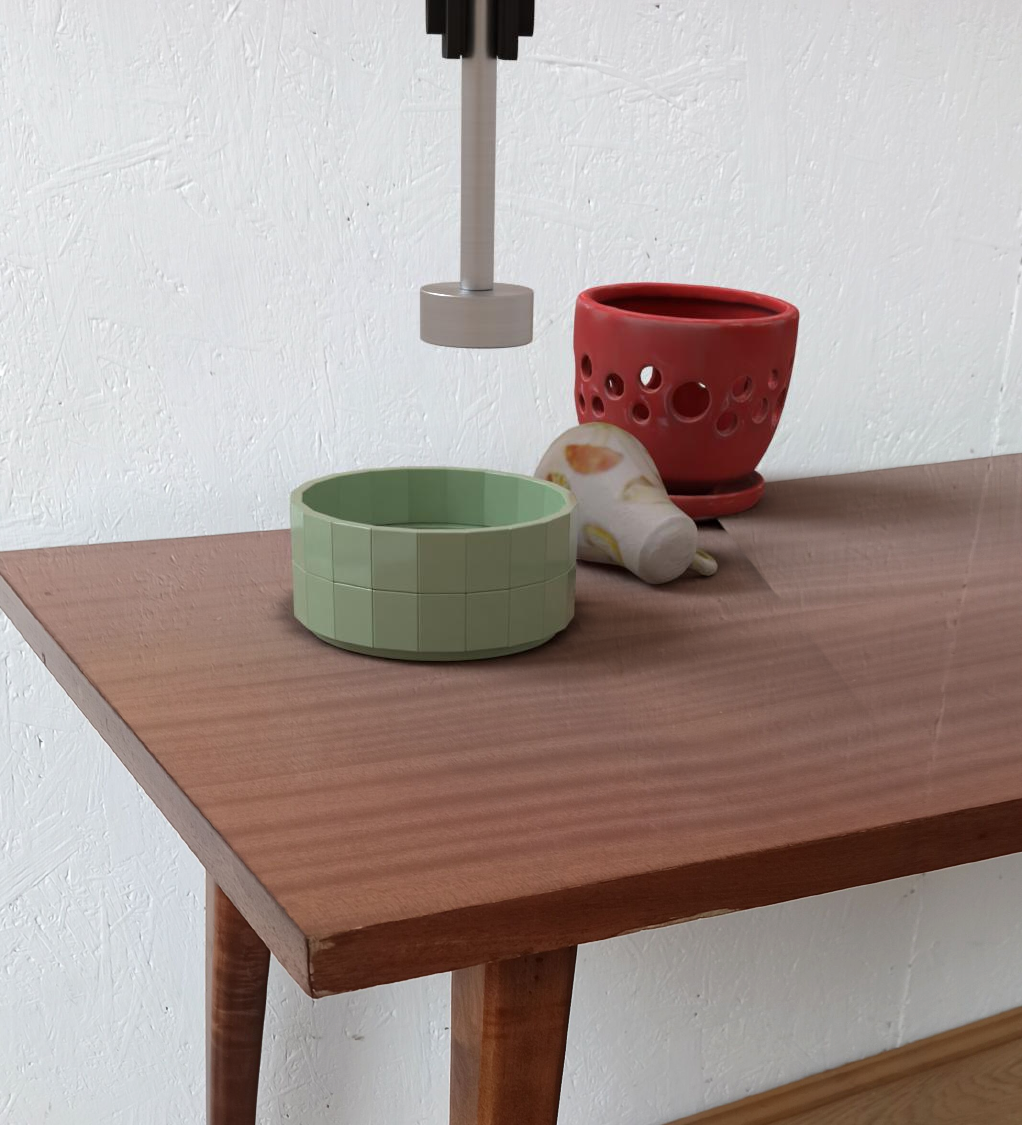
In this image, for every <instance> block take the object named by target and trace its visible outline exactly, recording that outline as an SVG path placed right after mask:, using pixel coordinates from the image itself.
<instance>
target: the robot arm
mask: <svg viewBox="0 0 1022 1125" xmlns="http://www.w3.org/2000/svg"><path fill="white" fill-rule="evenodd" d="M424 2H425V12H424V13H425V34H426V35H440V36H441V58H442V59H446V60H461V57H462V56H465V46H466V0H424ZM535 3H536V0H498V1H497V60H500V61H516V62H517V61H518V58H519V37H523V38H525V37H526V38H533V36H534V31H535V14H536V13H535V11H536V10H535V9H536V4H535Z"/></svg>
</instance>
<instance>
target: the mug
mask: <svg viewBox="0 0 1022 1125" xmlns="http://www.w3.org/2000/svg"><path fill="white" fill-rule="evenodd" d="M532 477H535V478H539V479H542V480H546V481H550V482H553V483H556V484H558V485H560V486H562V487H563V488H565V489H567V490H569V491H571V492H573V493H574V495H575V497H576V499H577V501H578V503H579V510H578V534H577V558H576V559H577V560H581V561H584V562H585V561H586V562H590V563H599V564H606V565H614V566H620V567H623V568H624V569H627V570H628V571H630V572H631V573H633V574H634V575H636V576H637V577H638V578H640V579H641V580H643V581H644V582H645V583H647V584H650V585H662V584H666V583H668V582H671V581H673V580H675V579H677V578H679V577H680V576H681V575H682V574H683V573H684V572H685V571H686V570H687V569H688V568H689V570H693V571H695V572H697V573H698V574H699V575H702V576H713V575H715V574H716V572H717V570H718V563H717V561H716V560H715V558H714V557H712V556H711V555H709V554H708V553H707V552H705V551H703V550H701V549H700V548H698V545H699V532H698V529H697V525H696V522H694V521H693V520H692V519H691V518H690V517H689V516H688V515H686V514H685V513H684V512H683V511H681V510H680V509H679V508H678V507H677V506H676V505H675V504H674V503H673V502H672V501H671V500H670V498H669V497H668V494H667V492H666V490H665V487H664V485H663V482H662V480H661V477H660V475H659V472H658V470H657V468H656V466H655V464H654V462H653V460H652V458H651V456H650V454H649V453H648V451H647V450H646V449H645V447H644V446H643V445H642V444H641V443H640V442H639V441H638V440H637V439H636V438H635V437H634V436H633V435H631V434H630V433H628V432H627V431H625V430H623V429H621V428H619V427H617V426H614V425H611V424H607V423H602V422H591V423H586V424H581V425H579V424H577V425H575V426H572V427H569V428H568V429H566V430H565V431H564V432H562V433H561V434H560V435H558V436H557V437H556V438H555V439H554V440H553V441H552V442H551V443H550V444H549V446H548V448H547V449H546V451H545V453H544V454H543V455H542V457H541V459H540V460H539V462H538V465H537V466H536V468H535V471H534V473H533V476H532Z"/></svg>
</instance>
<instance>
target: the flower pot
mask: <svg viewBox="0 0 1022 1125" xmlns="http://www.w3.org/2000/svg"><path fill="white" fill-rule="evenodd" d="M573 317H574V318H573V333H572V334H573V337H572V338H573V339H572V349H573V355H574V356H573V357H574V387H573V388H574V389H573V396H574V397H573V398H574V405H575V406H574V407H575V412H576V417H577V422H578V425H581V424H586V423H591V422H602V423H607V424H611V425H614V426H617V427H619V428H621V429H623V430H625V431H627V432H628V433H630V434H631V435H633V436H634V437H635V438H636V439H637V440H638V441H639V442H640V443H641V444H642V445H643V446H644V447H645V449H646V450H647V451H648V453H649V454H650V456H651V458H652V460H653V462H654V464H655V466H656V468H657V470H658V472H659V475H660V477H661V480H662V482H663V485H664V487H665V490H666V492H667V494H668V497H669V498H670V500H671V501H672V502H673V503H674V504H675V505H676V506H677V507H678V508H679V509H680V510H681V511H683V512H684V513H685V514H686V515H688V516H689V517H690V518H691V519H692V520H693V521H694V523H703V522H711V521H718V518H717V517H719V516H720V517H721V516H728V515H733V514H738V513H740V512H744V511H747V510H749V509H751V508H752V507H753V506H754V505H755V504H756V503H758V501H759V500H760V499H761V497H762V496H763V494H764V492H765V488H766V481H765V478H764V476H763V475H762V474H761V473H760V472H758V471H757V470H756V469H757V467H758V466H759V464H760V463H761V461H762V460H763V458H764V456H765V454H766V453H767V451H768V450H769V447H770V445H771V442H772V441H773V439H774V437H775V434H776V431H777V429H778V426H779V424H780V420H781V417H782V415H783V411H784V408H785V404H786V401H787V398H788V393H789V388H790V384H791V381H792V375H793V369H794V365H795V358H796V353H797V352H796V351H797V344H798V336H799V326H800V325H799V324H800V311H799V309H798V307H797V306H796V305H794V304H792V303H790V302H788V301H786V300H783V299H781V298H778V297H775V296H772V295H768V294H763V293H759V292H754V291H749V290H743V289H738V288H737V289H736V288H729V287H723V286H713V285H704V284H691V283H690V284H689V283H673V282H654V281H653V282H652V281H650V282H649V281H645V282H643V281H642V282H623V283H621V282H620V283H613V284H612V283H611V284H605V285H598V286H593V287H588V288H586V289H584V290H583V291H581V292H579V293H578V295H577V297H576V300H575V307H574V316H573ZM650 367H652V371H651V376H650V378H649V380H648V382H647V383H646V384H644V381H643V380H642V372H643V370H645V369H646V368H650ZM702 385H703V386H702Z"/></svg>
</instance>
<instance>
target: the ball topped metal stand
mask: <svg viewBox="0 0 1022 1125" xmlns="http://www.w3.org/2000/svg"><path fill="white" fill-rule="evenodd" d="M497 1H498V0H466V46H465V56H461V83H460V84H461V90H460V91H461V98H460V99H461V102H460V105H461V106H460V108H461V109H460V125H461V126H460V240H459V241H460V243H459V244H460V247H459V248H460V250H459V251H460V252H459V253H460V254H459V258H460V259H459V260H460V262H459V263H460V264H459V269H460V270H459V271H460V272H459V273H460V274H459V281H443V282H435V283H428V284H424V285H421V287H419V338H420V341H422V342H424V343H426V344H429V345H433V346H439V347H444V348H445V347H446V348H453V349H454V348H457V349H474V350H491V349H492V350H494V349H509V348H518V347H524V346H526V345H529V344H531V343H532V342H533V338H534V337H533V336H534V299H535V292H534V289H533V288H531V287H528V286H525V285H519V284H513V283H507V282H506V283H505V282H494V281H495V280H494V279H495V278H494V276H495V218H496V217H495V214H496V212H495V211H496V150H497V148H496V147H497V144H496V143H497V87H498V86H497V84H498V83H497V82H498V57H497Z"/></svg>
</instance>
